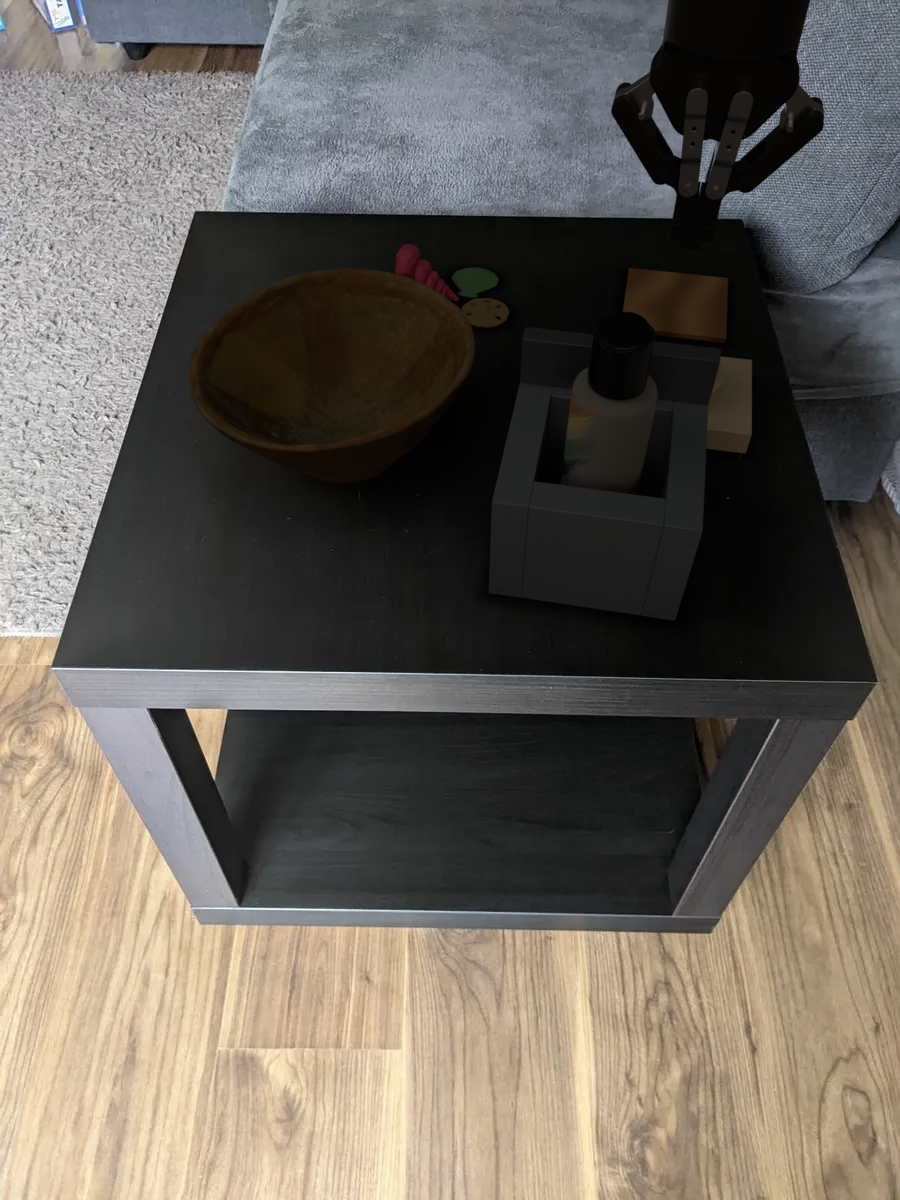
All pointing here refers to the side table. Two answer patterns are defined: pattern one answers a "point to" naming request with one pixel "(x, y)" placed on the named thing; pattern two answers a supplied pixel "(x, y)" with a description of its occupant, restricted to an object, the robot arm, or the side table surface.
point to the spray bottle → (612, 408)
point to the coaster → (679, 303)
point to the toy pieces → (464, 279)
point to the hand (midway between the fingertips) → (690, 243)
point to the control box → (731, 406)
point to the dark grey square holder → (595, 517)
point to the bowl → (333, 370)
